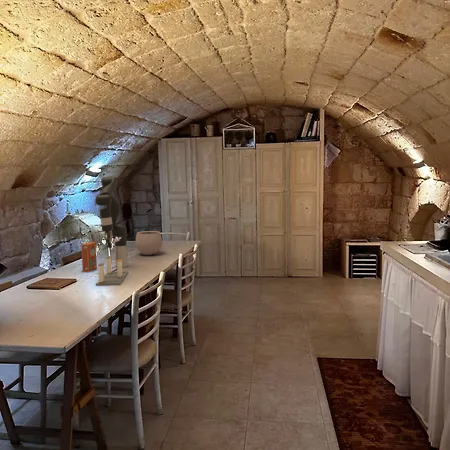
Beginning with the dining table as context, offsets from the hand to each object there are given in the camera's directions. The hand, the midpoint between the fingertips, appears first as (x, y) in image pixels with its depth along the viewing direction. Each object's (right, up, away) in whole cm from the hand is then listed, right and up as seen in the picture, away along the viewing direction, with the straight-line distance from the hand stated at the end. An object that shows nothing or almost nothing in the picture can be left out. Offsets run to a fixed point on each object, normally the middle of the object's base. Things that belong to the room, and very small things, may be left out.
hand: (109, 247), depth 300 cm
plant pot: (+11, -12, +95) cm, 96 cm away
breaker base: (+2, -22, +2) cm, 22 cm away
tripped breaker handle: (+7, -20, +2) cm, 22 cm away
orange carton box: (-24, -19, +32) cm, 45 cm away
